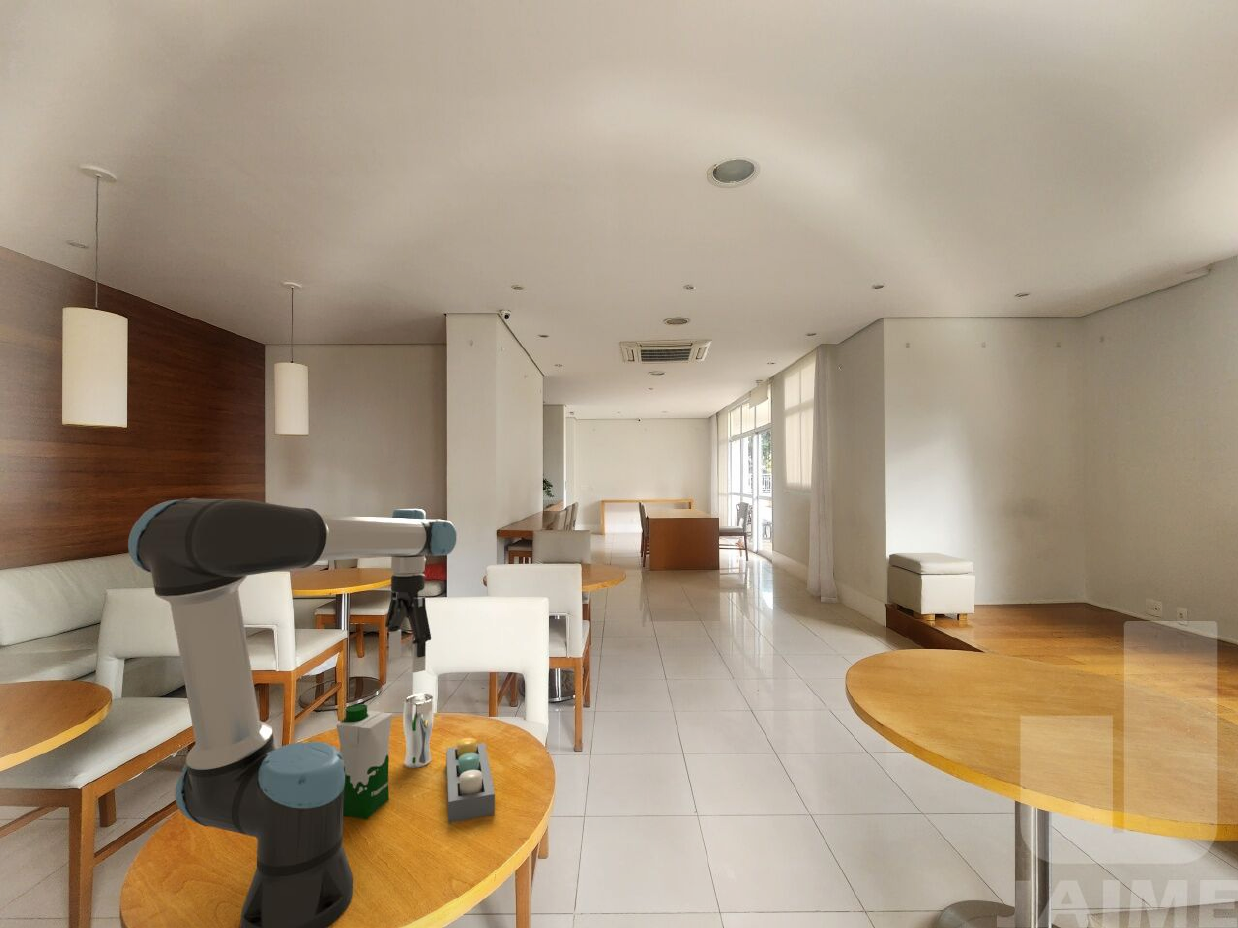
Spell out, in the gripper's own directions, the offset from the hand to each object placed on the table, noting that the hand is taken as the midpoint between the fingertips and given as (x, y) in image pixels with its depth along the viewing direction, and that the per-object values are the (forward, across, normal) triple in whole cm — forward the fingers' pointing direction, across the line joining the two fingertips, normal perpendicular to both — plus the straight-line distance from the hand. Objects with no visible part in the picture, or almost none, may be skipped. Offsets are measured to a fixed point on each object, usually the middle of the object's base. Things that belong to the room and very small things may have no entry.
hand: (406, 664), depth 129 cm
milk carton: (+25, -9, +12) cm, 29 cm away
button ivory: (+21, -25, -4) cm, 33 cm away
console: (+24, -18, -7) cm, 31 cm away
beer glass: (+25, +2, -4) cm, 25 cm away
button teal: (+21, -18, -7) cm, 28 cm away
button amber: (+21, -10, -10) cm, 26 cm away
